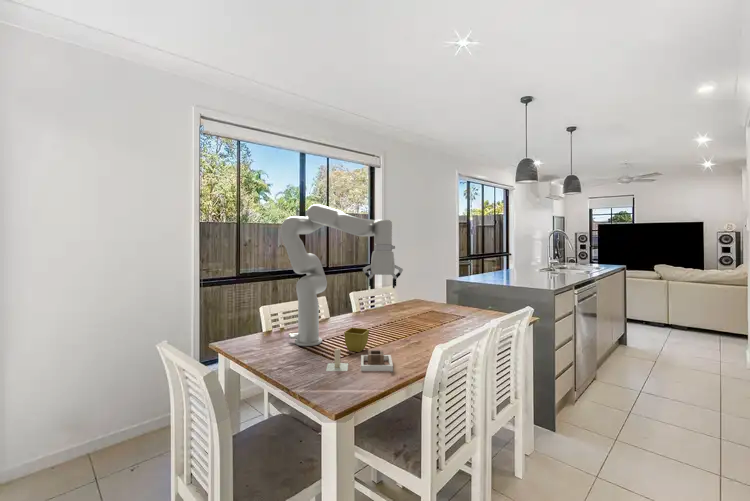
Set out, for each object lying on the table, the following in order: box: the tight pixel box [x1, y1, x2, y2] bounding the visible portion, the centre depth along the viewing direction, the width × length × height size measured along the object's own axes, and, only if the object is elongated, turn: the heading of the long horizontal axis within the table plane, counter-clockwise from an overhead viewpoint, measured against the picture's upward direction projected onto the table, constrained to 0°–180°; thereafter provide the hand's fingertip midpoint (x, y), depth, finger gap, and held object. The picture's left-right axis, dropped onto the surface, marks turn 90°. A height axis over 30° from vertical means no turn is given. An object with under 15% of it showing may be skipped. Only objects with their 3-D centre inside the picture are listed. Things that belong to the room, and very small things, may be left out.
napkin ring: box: [367, 349, 385, 365], centre depth 142 cm, size 6×6×5 cm
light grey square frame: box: [360, 354, 394, 373], centre depth 142 cm, size 12×12×2 cm
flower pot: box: [343, 327, 370, 353], centre depth 160 cm, size 9×9×9 cm
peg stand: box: [325, 348, 349, 372], centre depth 139 cm, size 8×8×7 cm
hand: (382, 287), depth 157 cm, fingers open, 9 cm apart
